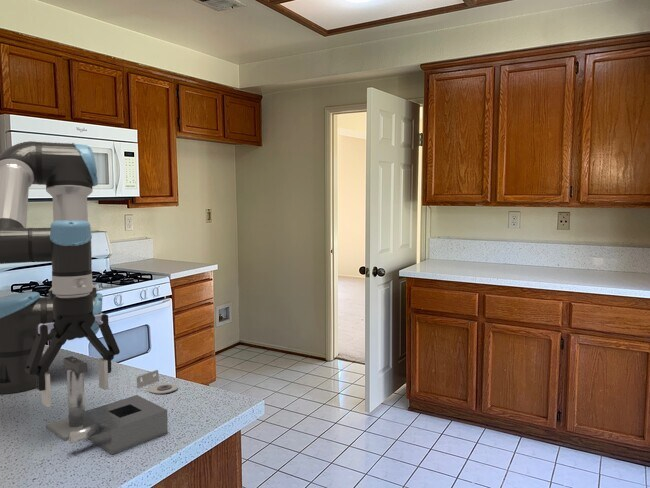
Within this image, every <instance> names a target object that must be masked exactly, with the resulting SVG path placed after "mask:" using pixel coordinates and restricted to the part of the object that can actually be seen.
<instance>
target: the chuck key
mask: <svg viewBox="0 0 650 488" xmlns="http://www.w3.org/2000/svg"><path fill="white" fill-rule="evenodd" d="M62 359H63V367H65V368H66V379H67V380H66V382H67V384H66V386H67V411H68V412H67V415H68V417H67V418H68V419H69V426H70V427H79V426H82V425H83V412H84V411H86V406H85V405H86V404H85V403H86V401H85V395H86V393H85V373H88V363H87V362H85V361H83V360H80V359H79V358H77V357H74V356H67V357H64V358H62Z"/></svg>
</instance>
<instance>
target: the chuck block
mask: <svg viewBox="0 0 650 488" xmlns="http://www.w3.org/2000/svg"><path fill="white" fill-rule="evenodd" d="M168 426H169V425H168V409H167V408H164V407H162V406H160V405H158V404H156V403H154V402H152V401H150V400H148V399H146V398H144V397H142V396H140V395H138V394H136V395H133V396H129V397H126V398H123V399H120V400H117V401H114V402H110V403H107V404H106V403H105V404H104V405H100V406H97V407H94V408H90V409H86V410H85V411H84V412H83V428H82V429H79V430H76V431H73V432H70V433H69V435H68V438H69V439H68V441H69V443H70V444H73V443H77V442H81V441H83V440H86V439H88V440H90V441H91V442H92V443H94V444H95V445H96V446H99V447H100V448H101V449H103V450H104V451H106V452H107V453H109V454H110V455H115V454H117V453H120V452H122V451H125V450H128V449H131V448H133V447H136V446H138V445H141V444H143V443H146V442H149V441H151V440H153V439H156V438H158V437H161V436H164V435H165V434H168V429H169V427H168Z"/></svg>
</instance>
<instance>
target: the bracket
mask: <svg viewBox="0 0 650 488" xmlns="http://www.w3.org/2000/svg"><path fill="white" fill-rule="evenodd" d="M154 374H155V376H154ZM159 375H160V374H159V369H155V370H153V371H150V372H146V373H144V374H140V375H137V376H136V385H137V386H136V389H139V388H140V387H141V388H143V386H144V387H146V386H149V385H151V384H154V383H157V382H160V379H159V378H160V376H159ZM141 378H142V381H141ZM141 388H140V389H141ZM178 388H179V386H178V385H177V384H174V383H173V384H172V383H168V382H161V383H158V384H156V385H153V386H150V388H149V387H148V388H147V389H146V390H144V389H143V391H144V392H147V393H150V392H151V394H155V395H156V394H157V395H159V394H160V395H161V394H167V393H172V392H174V391H176V390H178Z"/></svg>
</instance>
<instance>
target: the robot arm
mask: <svg viewBox="0 0 650 488" xmlns="http://www.w3.org/2000/svg"><path fill="white" fill-rule="evenodd" d="M97 171H98V170H97V164H96V159H95V154H94V152H93V149H92V148H91V147H90V146H89V145H87V144H78V143H74V142H72V143H70V142H68V143H66V142H65V143H64V142H46V141H22V142H20V143H19V142H18V143H16V144H14V145H11V146H10V147H8V148H6V149H5V150H3V151H1V153H0V265H2V264H4V265H5V264H22V263H48V262H49V263H51V287H50V289H48V294H49V295H48V296H44V297H43V296H42V297H41V294H40V292H37V291H25V292H20V293H19V292H18V293H13V294H8V295H5V296H1V297H0V394H12V393H20V392H25V391H29V390H33V389H37V390H38V391H39V392H41V404H42V405H44V406H45V407H47V408H49V407H52V393H51V389H52V388H51V371H50V367H51V365H52V363H53V362H54V360H55V358H56V357H57V355H58V353H59V351H60V350H61V348H62V347H63V346H64V345H65V344H66V342H67V341H72V340H75V339H82V338H86V340H88V341H89V343H90V344H91V345H92V347H94V348H95V350H96V351H97V352H98V353H99V354H100V356H101V357H100V358H98V359H97V360H98V363H97V364H98V388H100V389H102V390H104V391H107V390H109V374H110V373H112V361H113V360H114V358H115V356H116V355H117V356H118V355H119V354H120V348H119V346H118V343H117V341H116V339H115V336H114V333H113V332H112V330H111V326H110V325H109V323H110V322H109V315H108V314H106V313H103V312H102V311H103V294H102V293H100V292H98V291H97V290H98V289H97V286H96V285H95V284H93V267H92V264H93V263H92V259H93V258H92V257H93V256H92V237H93V234H92V231H91V229H92V228H91V224H90V222H89V221H88V220H89V219H88V217H89V215H88V198H89V196H90V195H91V194H92V193H94V191H93V187H96V186H98V183H99V179H98V172H97ZM32 185H37V186H39V185H43V186H45V191H46V192H47V194H49V195H50V196H51V198H52V219H53V220H52V222H51V224H50V227H27V223H28V222H27V220H28V219H27V218H28V206H29V205H28V204H29V189H30V187H32ZM99 330H100V333H101V335H102V337H103V340H104V341H105V344H106V346H105V345H104V343H103V342H102V341H101V340H100V339H99V338H98V336H97V334H98V332H99ZM47 342H50V343H49V345H48V347H47V348H46V350H45V352H44V349H45V346H46V343H47ZM43 352H44V353H43Z"/></svg>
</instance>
